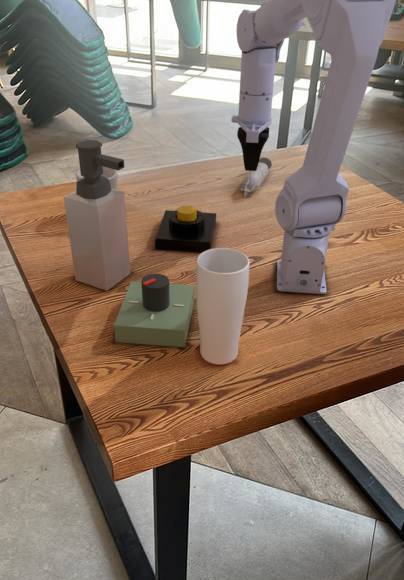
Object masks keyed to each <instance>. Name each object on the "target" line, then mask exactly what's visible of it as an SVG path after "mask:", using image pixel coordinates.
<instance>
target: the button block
mask: <svg viewBox="0 0 404 580" xmlns="http://www.w3.org/2000/svg"><path fill="white" fill-rule="evenodd" d="M216 226H217V213H216V212H202V211H201V210H197V219H196V220H194V221H189V222H188V221H180V220H178V219H177V209H176V210H169V209H168V210H167V209H166V210H165V211H164V213H163V215H162V218H161V222H160V224H159V227H158V230H157V232H156V234H155V238H154V246H155V249H154V250H159V251H171V252H172V251H175V252H191V253H202V252H204V251H206V250H209V249H212V246H213V242H214V241H213V240H214V236H215V231H216Z"/></svg>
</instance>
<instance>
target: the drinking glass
mask: <svg viewBox="0 0 404 580" xmlns="http://www.w3.org/2000/svg"><path fill="white" fill-rule="evenodd" d="M195 262H196V263H195V299H196V307H197V309H196V310H197V321H198V333H199V354H200V355H201V357H202V359H203V360H204V361H206V362H207V363H209V364H213V365H218V366H219V365H220V366H221V365H223V366H224V365H226V364H227V365H228V364H231V363H232V362H234V361H235V360H236V358H237V357H238V355H239V348H240V347H239V346H240V338H241V333H242V327H243V322H244V316H245V312H246V311H245V310H246V305H247V299H248V294H249V293H248V292H249V283H250V266H251V265H250V258H249V257H248V256H247V255H246V254H245V252H244V253H243V252H242V251H239V250H237V249H234V248H229V247H215V248H211V249H209V250H206V251H204V252H200V254H199V255H198V256H197V257H196V261H195Z"/></svg>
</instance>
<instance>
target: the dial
mask: <svg viewBox="0 0 404 580" xmlns="http://www.w3.org/2000/svg"><path fill="white" fill-rule="evenodd" d="M140 282H141V285H142V302H143V307H144V308H145V309H147V310H149V311H162V310H165V309H166V308H168V307H169V305H170V293H169V284H170V278H169V277H168V276H167V275H165V274H163V273H149V274H147V275H145V276H143V277H142V278H141V281H140Z"/></svg>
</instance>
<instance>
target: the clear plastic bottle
mask: <svg viewBox="0 0 404 580" xmlns="http://www.w3.org/2000/svg"><path fill="white" fill-rule="evenodd" d="M272 168H273V161H272V159H271V158H269V157H268V156H267V157H266V156H263V157H260V159H259V163H258V167H257V170H256V171H248V173H246V175H245V177H243V180H242V182H239V185H241V188H240V191H243V192H244V195H243V196H244V197H246V196H247V195H248V194H249V193H251V194H252V193H254V192H256V191H257V190H258V189H259V188H261V184H262V183H263V181H264V180H265V179H266V177H267V176H268V175H269V173H270V172H271V170H272Z"/></svg>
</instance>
